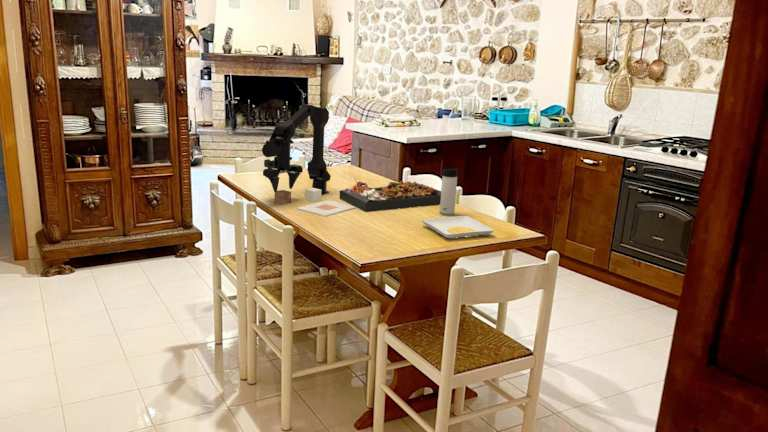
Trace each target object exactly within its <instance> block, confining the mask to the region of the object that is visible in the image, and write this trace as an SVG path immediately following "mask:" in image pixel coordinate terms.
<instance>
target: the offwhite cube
mask: <svg viewBox="0 0 768 432" xmlns="http://www.w3.org/2000/svg"><path fill="white" fill-rule="evenodd" d="M321 192H322V190H321V189H316V188H312V187H310V188H306V189H305V201H308V202H311V203H318V202H322V194H321Z"/></svg>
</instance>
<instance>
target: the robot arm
mask: <svg viewBox="0 0 768 432" xmlns="http://www.w3.org/2000/svg"><path fill="white" fill-rule="evenodd" d="M329 116H330V111H329V110H328V109H327V108H326V107H318V106H315V105H313V104H309V103H307V104H306V103H305V104H302V106H301V108H299V110H297V111H296V112H295V113H294V114H293V115H292V116H290V117H289V118H288V119H287V120H285V121H282V122H279V123H278V124H277V125H275V127H274V129H273V131H272V133H271V135H270V138H269V139H268V140H266V141H265V143H264V144H263V146H262V148H261V152H262V154H263V156H264V157H265V158H266V159H264V160H263V165H264V167H265V168H264V169H263V170H262V177H265V178H266V179H268V180H269V182H270V185H271V187H272V189H273V191H274V193H275V192H277V191H278V188H279V183H280V174H285V173H287V176H288V186H289V187H288V188H289V189H290V190H292V188H293V187H294V185H295V183H296V182H297V179H298V178H299V176H301V174H302V173H303V170H304V169H303V168H304V167H303V166H302V165H300V164H296V163H295V164H294V163H293V164H291V161H293V157H292V156H291V145H292V144H294V141H293V140H292V138H293V136H295V134H296V129H297V128H298V127H300V125H301V124H302V123H303V122H304V121H306V120H307V119H308V118H309V119H310V120H309V121H310V122H311V125H312V127H313V128H312V157H311V160H310V161H308V162H307V169H306V171H307V173H308V177H309V179H310V180H312V184H311V185H312V187H311V188H316V189H321V190H322V192H321V195H324V194H328V193H329V192H330V191H329V190H327V188H328V187H327V182H329V181H331V174H330V172H329V171H328V169H327V163H326V161H325V159H324V145H325V127H326V125H327V124H328V122H329V118H330V117H329ZM272 157H273V160H270V159H267V158H272Z"/></svg>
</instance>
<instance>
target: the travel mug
mask: <svg viewBox="0 0 768 432" xmlns="http://www.w3.org/2000/svg"><path fill="white" fill-rule="evenodd" d="M458 171H459V170H458V169H457V168H447V169H445V168H444V169H442V179H441V190H440V191H441V201H440V205H439V214H440V215H441V214H442V215H441V216H444V215H453V216H454V215H455V207H456V198H457V197H456V196H457V184H458Z"/></svg>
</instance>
